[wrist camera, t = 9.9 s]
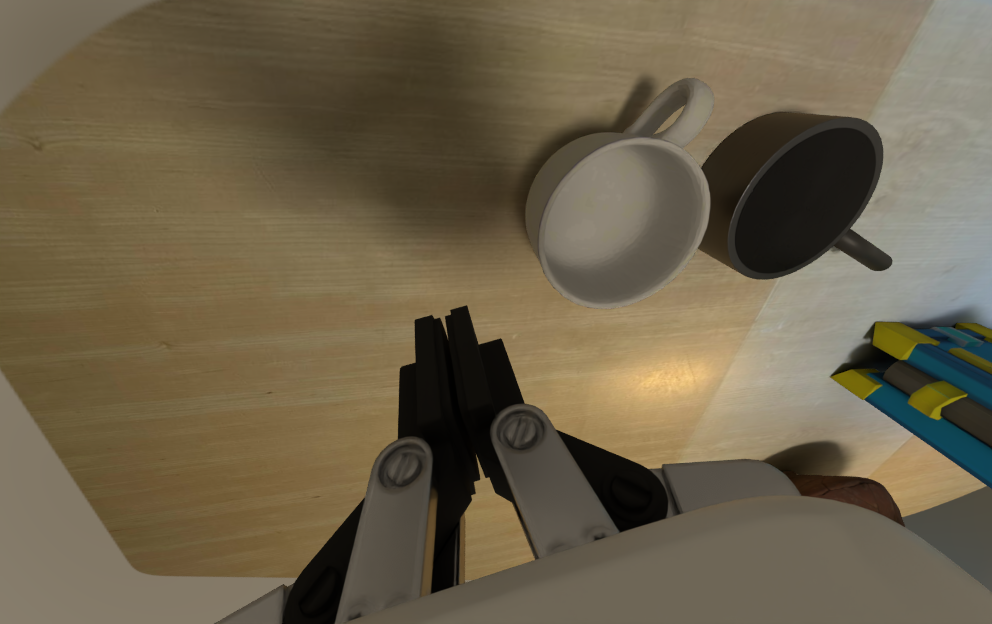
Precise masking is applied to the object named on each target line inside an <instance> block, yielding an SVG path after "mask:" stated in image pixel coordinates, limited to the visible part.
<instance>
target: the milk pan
mask: <svg viewBox="0 0 992 624" xmlns="http://www.w3.org/2000/svg"><path fill="white" fill-rule="evenodd" d="M882 164H883V145H882V141H881V138H880V136H879V133H878V132H877V130H876V129H875V128H874V127H873V126H872V125H871V124H869V123H868V122H867V121H864V120H862V119H859V118H852V117H841V116H828V115H815V114H802V113H789V112H779V113H772V114H767V115H764V116H762V117H759V118H756V119H754V120H752V121H750V122H748V123H747V124H745V125H743V126H742V127H740V128H739V129H737V130H736V131H735V132H733V133H732V134H731V135H730V136H728V137H727V138H726V139H725V140H724V141H723V142H722V143H721V144H720V145H719V146H718V147H717V148H716V150H715V151H714V152H713V153H712V154H711V155H710V157H709V158H708V159H707V161H706V162H705V164H704V165H703V167H702V168H701V169H702V171H703V173H704V175H705V177H706V180H707V182H708V186H709V192H710V213H709V220H708V225H707V228H706V231H705V233H704V236H703V238H702V241H701V243H700V245H699V246H698V249H700V250H701V251H703V252H705V253H706V254H708V255H710V256H711V257H713V258H715V259H717V260H718V261H720V262H722V263H724V264H725V265H727V266H729V267H730V268H732V269H734V270H736V271H737V272H739V273H741V274H743V275H744V276H747V277H749V278H753V279H774V278H778V277H782V276H785V275H788V274H791V273H793V272H795V271H797V270H799V269H801V268H803V267H805V266H807V265H808V264H810V263H812V262H813V261H815V260H816V259H818V258H819V257H820V256H822V255H823V254H824V253H825V252H827V251H828V250H829V249H830V248H831V247H833V246H835V247H836V248H838V249H839V250H841V251H843V252H844V253H846V254H847V255H849V256H850V257H852V258H854V259H855V260H857V261H858V262H860V263H861V264H863V265H865V266H866V267H868V268H869V269H871V270H874V271H883V270H886V269H888V268H889V267H890V266H891V265H892V258H891V257H890V256H889V255H887V254H886V253H884V252H883V251H881V250H880V249H879V248H877V247H876V246H874V245H873V244H871V243H870V242H869V241H867V240H866V239H864V238H863V237H861V236H860V235H858V234H857V233H856V232H854V231H853V230H851V229H850V228H851V227H852V226H853V224H854V223H855V222H856V220H857V219H858V218H859V216H860V215H861V213H862V212H863V210H864V209H865V207H866V206H867V204H868V202H869V200H870V199H871V197H872V194H873V192H874V190H875V188H876V186H877V183H878V180H879V177H880V173H881V169H882Z"/></svg>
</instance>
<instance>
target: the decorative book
mask: <svg viewBox="0 0 992 624" xmlns="http://www.w3.org/2000/svg"><path fill="white" fill-rule="evenodd" d="M872 345H874V346H876V347H878V348H879V349H881V350H883V351H885V352H886V353H888V354H890V355H892V356H894V357H895V358H897V359H899V361H897V362H896V363H894V364H893V365H891V366H890V367H889V368H888V369H887V370H886V371H885V372H879V371H878V370H876V369H851V370H848V371H846V372H843V373H840V374H837V375H834V376H832V377H830V378H832V379H833V380H835V381H836V382H838V383H839V384H840V385H842V386H843V387H845V388H846V389H848V390H849V391H850V392H852V393H853V394H855V395H856V396H858V397H859V398H860V399H862V400H866V401H867V402H868V403H870V404H871V405H873V406H874V407H876V408H877V409H878V410H880V411H881V412H883V413H884V414H886V415H887V416H888V417H890V418H891V419H893V420H894V421H896V422H897V423H898V424H900V425H901V426H903V427H904V428H906V429H907V430H908V431H910V432H911V433H913V434H914V435H916V436H917V437H918V438H920V439H921V440H923V441H924V442H926V443H927V444H928V445H930V446H931V447H933V448H934V449H936V450H937V451H938V452H940V453H941V454H943V455H944V456H946V457H947V458H948V459H950V460H951V461H953V462H954V463H956V464H957V465H959V466H960V467H961V468H963V469H964V470H966V471H967V472H969V473H970V474H971V475H973V476H974V477H976V478H977V479H979V480H980V481H981V482H983V483H984V484H986V485H987V486H989V487H990V488H992V330H991V329H989V328H986V327H984V326H982V325H979V324H977V323H956V328H955V329H954V328H952V327H932V328H929V329H912V328H910V327H908V326H906V325H904V324H902V323H900V322H876V323H875V330H874V337H873V344H872Z"/></svg>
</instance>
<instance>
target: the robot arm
mask: <svg viewBox="0 0 992 624" xmlns="http://www.w3.org/2000/svg"><path fill="white" fill-rule="evenodd" d="M450 311H451V315H448V316H445V320H446V327H447V333H448V338H447V335H446V332H445V329H444V327H443V324H442V321H441V319H440V318H437V319H434V317H433V316H432V315H430V316H427V317H423V318H419V319H416V320H415V354H416V363H413V364H409V365H406V366H402V367H401V368H400V379H399V416H398V440H396V441H394V442H392V443H391V444H389V445H388V446H387V447H386V448H385V449H384V450H382V451H381V453H380V454H379V456H378V457H377V458H376V460H375V462H374V465H373V468H372V471H371V475H370V479H369V483H368V487H367V492H366V496H365V498H364V499H363V500H362V501H361V502H360V504H359V505H358V506H357V507H356V508H355V510H354V511H353V512H352V513H351V514H350V515H349V517H348V518H347V519H346V520H345V521H344V523H343V524H342V525H341V526H340V527H339V528H338V530H337V531H336V532H335V533H334V534H333V536H332V537H331V538H330V539H329V540H328V541H327V543H326V544H325V545H324V546H323V547H322V549H321V550H320V551H319V552H318V553H317V555H316V556H315V557H314V558H313V559H312V560H311V562H310V563H309V564H308V565H307V566H306V568H305V569H304V570H303V571H302V573H301V574H300V576H299V577H298V578H297V580H296V581H295V583H293V584H292V585H290V586H288V587H287V586H285V585H284V584H283V585H281V586H279V587H278V588H276V589H274V590H272V591H271V592H269V593H267V594H265V595H264V596H262V597H260V598H258V599H257V600H255V601H253V602H251V603H250V604H248V605H246V606H244V607H243V608H241V609H239V610H237V611H236V612H234V613H232V614H230V615H229V616H227V617H225V618H223V619H222V620H220V621H218V622H216V623H214V624H992V593H991V592H990V591H989V590H988V589H986V588H985V587H984V586H983V585H982V584H981V583H979V582H978V581H977V580H976V579H974V578H973V577H972V576H970V575H969V574H968V573H967V572H965V571H964V570H963V569H962V568H960V567H959V566H958V565H956V564H955V563H953V561H951V560H950V559H949V558H948V557H946V556H945V555H944V554H943V553H941V552H940V551H939V550H937V549H935V548H934V547H933V546H932V545H930V544H929V543H927V542H926V541H925V540H923V539H922V538H920V537H919V536H917V535H916V534H914V533H913V532H911V531H910V530H908V529H907V528H905V527H903V526H902V525H900V524H898V523H896V522H894V521H893V520H891V519H889V518H887V517H885V516H883V515H881V514H879V513H876V512H874V511H871V510H868V509H865V508H862V507H859V506H856V505H852V504H848V503H843V502H839V501H835V500H830V499H822V498H815V497H808V496H801V494H800V493H799V491H798V490H797V488H796V487H795V485H794V484H793V483H792V482H791V480H790V479H789V478H788V477H787V476H786V475H785V474H784V473H783V472H781V471H780V470H778V469H777V468H775V467H774V466H772V465H770V464H767V463H765V462H762V461H759V460H751V459H738V460H723V461H707V462H692V463H676V464H662V468H659V469H647V468H645V467H644V466H642V465H640V464H638V463H635V462H633V461H630V460H628V459H626V458H623V457H621V456H618V455H616V454H614V453H611V452H609V451H606V450H604V449H602V448H599V447H597V446H594V445H592V444H589V443H587V442H585V441H582V440H580V439H577V438H575V437H573V436H570V435H568V434H565V433H563V432H561V431H558V430H556V429H555V428H554V426H553V425H552V423H551V421H550V420H549V418H548V417H547V415H546V414H545V413H544V412H543V411H542V410H541V409H539V408H537V407H536V406H533V405H529V404H525V403H524V400H523V397H522V395H521V392H520V389H519V386H518V383H517V381H516V378H515V375H514V372H513V369H512V366H511V364H510V361H509V358H508V355H507V352H506V350H505V347H504V344H503V341H502V339H497V340H494V341H490V342H487V343H483V344H480V345H478V341H477V338H476V334H475V331H474V328H473V324H472V321H471V317H470V314H469V310H468V307H467V306H463V307H459V308H456V309H452V310H450ZM448 340H449V341H448ZM476 455H477V457H478V460H479V462H480V465H481V467H482V470H483V472H484V475H485V477H486V478H488V477H490V480H491V483H492V485H493V488H494V490H495V493H496V494H498V495H500V496H502V497H503V498H505V499H507V500H509V501H510V502H512V504H513V507H514V509H515V511H516V514H517V516H518V519H519V521H520V524H521V526H522V529H523V531H524V534H525V536H526V539H527V541H528V543H529V546H530V548H531V551H532V553H533V556H534V558H535V560H534V561H531V562H528V563H525V564H522V565H518V566H515V567H512V568H509V569H506V570H503V571H500V572H497V573H494V574H491V575H488V576H485V577H482V578H479V579H475V580H472V581H470V582H466V583H465V514H464V512H465V510H466V509H467V507H468V506H469V504H470V503H471V501H472V497H471V495H473V494H476V492H475V486H474V482H475V481H478V480H480V474H479V468H478V463H477V457H476Z"/></svg>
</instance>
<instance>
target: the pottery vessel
mask: <svg viewBox="0 0 992 624" xmlns="http://www.w3.org/2000/svg"><path fill="white" fill-rule="evenodd" d="M783 473H784V474H785V475H786V476H787V477H788V478H789V479H790V480H791V482H792V483H793V484H794V485H795V487H796V488H797V490H798V491H799V493H800V494H801V496H808V497H815V498H822V499H830V500H835V501H839V502H843V503H848V504H852V505H856V506H859V507H862V508H865V509H868V510H871V511H874V512H876V513H879V514H881V515H883V516H885V517H887V518H889V519H891V520H893V521H894V522H896V523H898V524H900V525H902V526H903V527H905V525H904V522H903V520H902V517H901V513H900V510H899V508H898V506H897V505H896V503H895V502H894V500H893V498H892V497H891V495H890V494H889V492H888V491H887V490H886V488H885V487H884V486H883V485H882V484H880V483H878V482H876V481H874V480H871V479H867V478H861V477H850V476H822V475H797V474H796V473H795V472H793V471H784V472H783Z"/></svg>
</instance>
